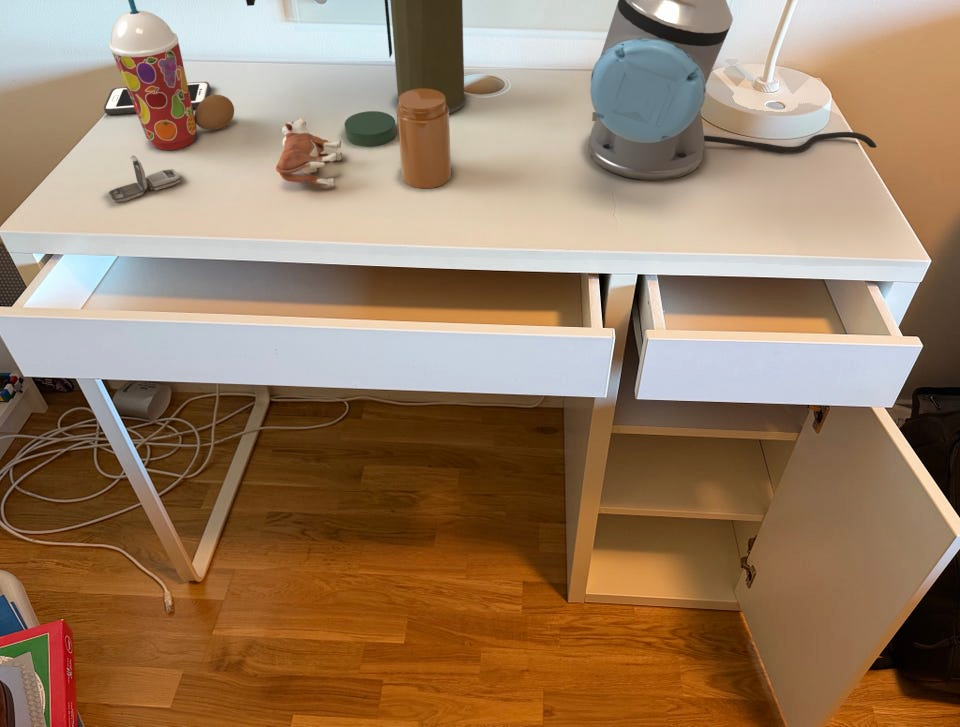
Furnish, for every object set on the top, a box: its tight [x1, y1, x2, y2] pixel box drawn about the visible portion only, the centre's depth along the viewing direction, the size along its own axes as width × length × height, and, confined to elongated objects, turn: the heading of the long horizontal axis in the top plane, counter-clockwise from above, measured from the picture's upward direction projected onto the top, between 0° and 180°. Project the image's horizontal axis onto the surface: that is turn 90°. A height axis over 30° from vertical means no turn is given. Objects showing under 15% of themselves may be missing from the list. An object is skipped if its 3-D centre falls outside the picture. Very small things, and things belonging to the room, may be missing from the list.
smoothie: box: [108, 0, 198, 151], centre depth 98 cm, size 8×8×20 cm
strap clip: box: [108, 154, 181, 203], centre depth 95 cm, size 8×3×4 cm, turn 126°
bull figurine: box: [275, 117, 343, 186], centre depth 98 cm, size 4×13×8 cm
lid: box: [343, 110, 397, 147], centre depth 106 cm, size 7×7×2 cm
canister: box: [384, 0, 467, 115], centre depth 107 cm, size 11×10×20 cm
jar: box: [396, 88, 452, 189], centre depth 95 cm, size 6×6×10 cm
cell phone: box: [103, 81, 211, 115], centre depth 114 cm, size 8×15×1 cm, turn 100°
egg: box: [194, 94, 235, 131], centre depth 107 cm, size 4×4×6 cm
